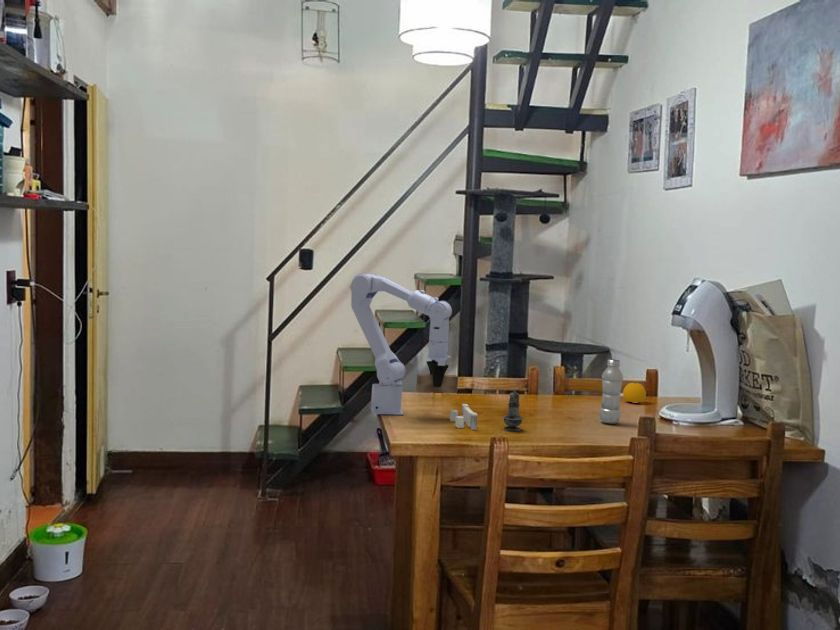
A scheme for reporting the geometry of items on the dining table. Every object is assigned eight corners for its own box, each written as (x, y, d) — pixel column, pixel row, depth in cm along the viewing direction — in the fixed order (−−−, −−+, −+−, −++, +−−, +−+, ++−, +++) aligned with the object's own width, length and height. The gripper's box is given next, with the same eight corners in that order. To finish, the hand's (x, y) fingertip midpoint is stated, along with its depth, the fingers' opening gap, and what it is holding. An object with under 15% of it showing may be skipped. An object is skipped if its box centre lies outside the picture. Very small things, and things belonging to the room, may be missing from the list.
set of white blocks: (457, 429, 233) (458, 414, 233) (448, 418, 248) (449, 403, 248) (476, 429, 234) (477, 414, 234) (466, 418, 249) (467, 404, 249)
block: (417, 392, 244) (418, 375, 244) (416, 390, 247) (417, 373, 247) (457, 393, 246) (458, 376, 245) (454, 391, 249) (455, 375, 249)
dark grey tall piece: (519, 427, 241) (521, 387, 240) (524, 432, 235) (527, 391, 234) (499, 427, 240) (502, 386, 239) (505, 431, 234) (507, 390, 233)
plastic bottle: (609, 426, 249) (614, 361, 247) (593, 421, 254) (598, 358, 253) (624, 425, 252) (629, 361, 250) (608, 420, 258) (613, 358, 256)
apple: (629, 405, 286) (630, 384, 286) (618, 400, 294) (620, 380, 293) (649, 405, 288) (651, 384, 288) (638, 400, 296) (640, 380, 295)
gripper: (456, 344, 239) (453, 390, 240) (447, 338, 253) (444, 381, 254) (432, 344, 238) (430, 389, 239) (424, 338, 252) (422, 381, 253)
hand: (436, 385), depth 246 cm, fingers closed on block, 3 cm apart
